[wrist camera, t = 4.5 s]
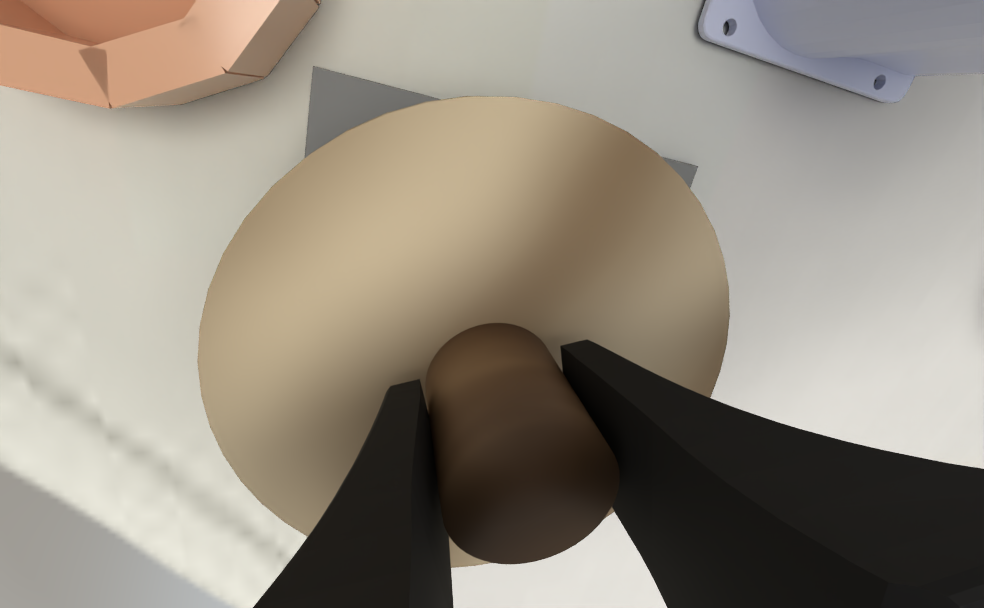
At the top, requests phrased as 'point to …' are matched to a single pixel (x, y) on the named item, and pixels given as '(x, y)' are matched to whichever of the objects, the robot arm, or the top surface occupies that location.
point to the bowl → (144, 47)
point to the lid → (458, 312)
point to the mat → (374, 109)
